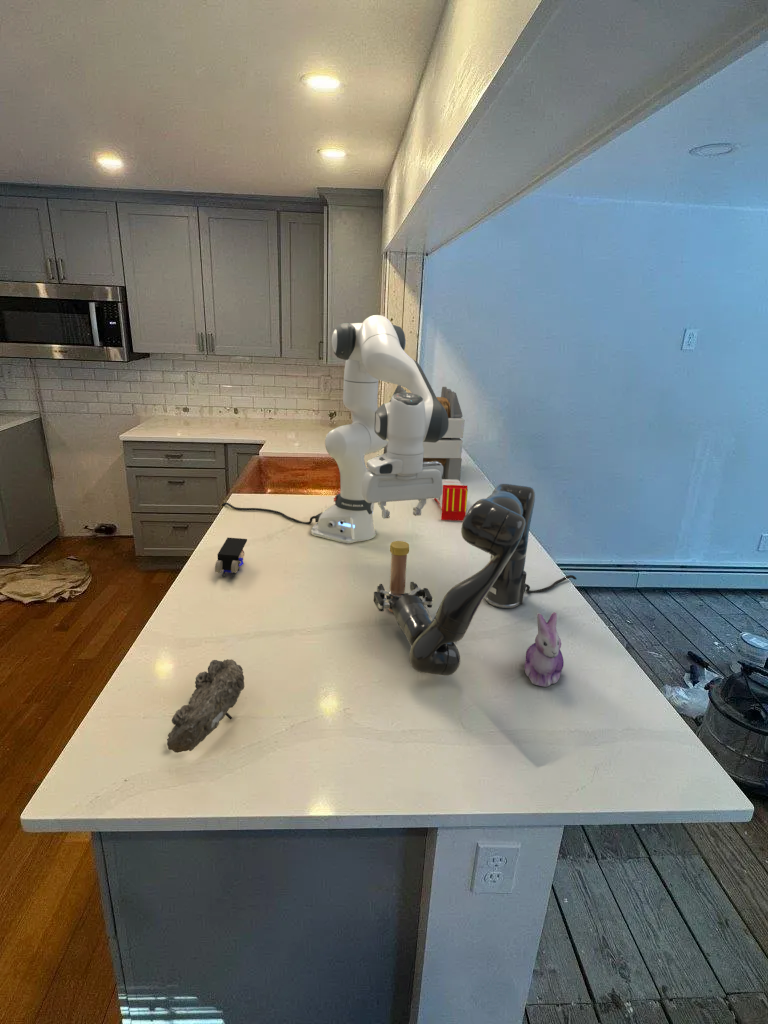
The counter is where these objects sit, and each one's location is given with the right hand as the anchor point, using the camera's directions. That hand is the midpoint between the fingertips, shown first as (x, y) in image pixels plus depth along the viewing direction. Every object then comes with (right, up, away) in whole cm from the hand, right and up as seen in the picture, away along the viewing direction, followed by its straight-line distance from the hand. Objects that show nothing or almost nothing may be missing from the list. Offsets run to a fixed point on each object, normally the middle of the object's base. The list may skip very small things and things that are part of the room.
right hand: (395, 585), depth 149 cm
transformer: (+14, +38, +126) cm, 132 cm away
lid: (+1, +11, -6) cm, 12 cm away
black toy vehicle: (-48, +2, +18) cm, 51 cm away
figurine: (+32, -17, -24) cm, 43 cm away
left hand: (+1, +18, -8) cm, 20 cm away
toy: (+23, +21, +78) cm, 84 cm away
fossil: (-36, -20, -41) cm, 58 cm away
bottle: (0, -6, +1) cm, 6 cm away
